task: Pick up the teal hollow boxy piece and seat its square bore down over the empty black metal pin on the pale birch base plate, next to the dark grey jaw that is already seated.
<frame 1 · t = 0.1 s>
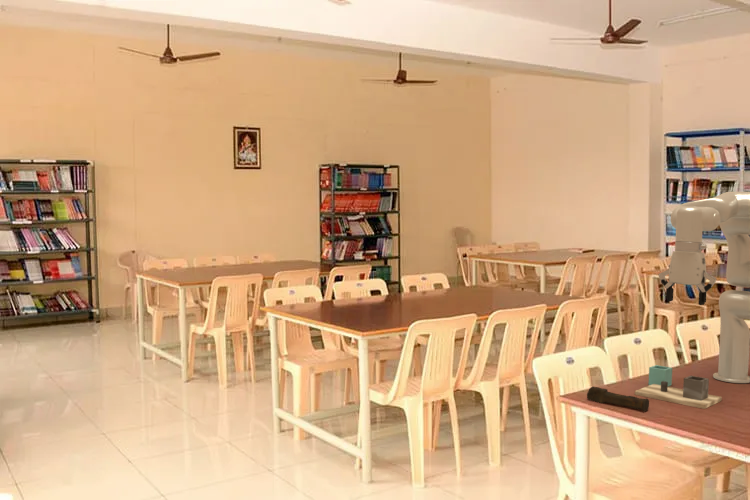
hand: (685, 302, 231), 31 cm above the table, fingers open, 9 cm apart
teal hollow boxy piece: (659, 384, 255), on the table
seat plate: (677, 397, 239), on the table
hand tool: (615, 406, 228), on the table
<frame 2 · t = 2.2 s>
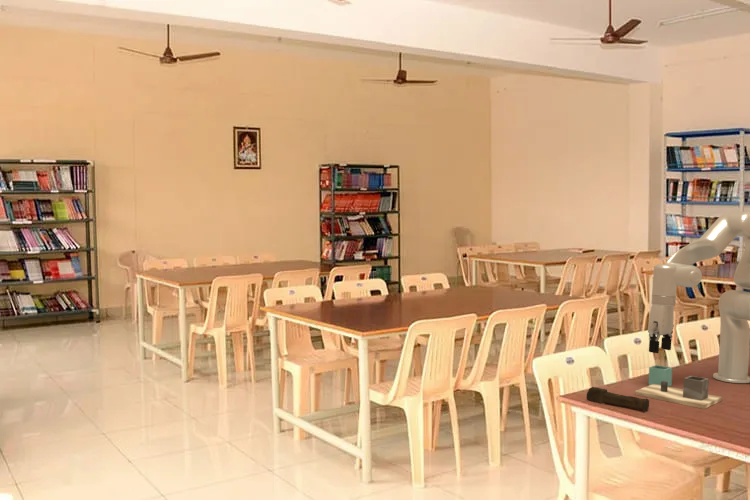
hand: (659, 351, 254), 12 cm above the table, fingers open, 9 cm apart
nothing on the table moved.
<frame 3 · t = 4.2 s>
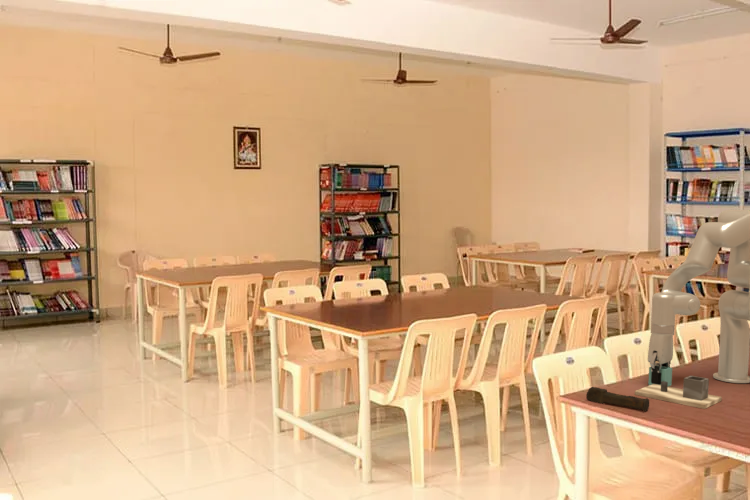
hand: (660, 381, 255), 1 cm above the table, fingers closed on teal hollow boxy piece, 5 cm apart
teal hollow boxy piece: (659, 384, 255), on the table, touching gripper
everything else where it was.
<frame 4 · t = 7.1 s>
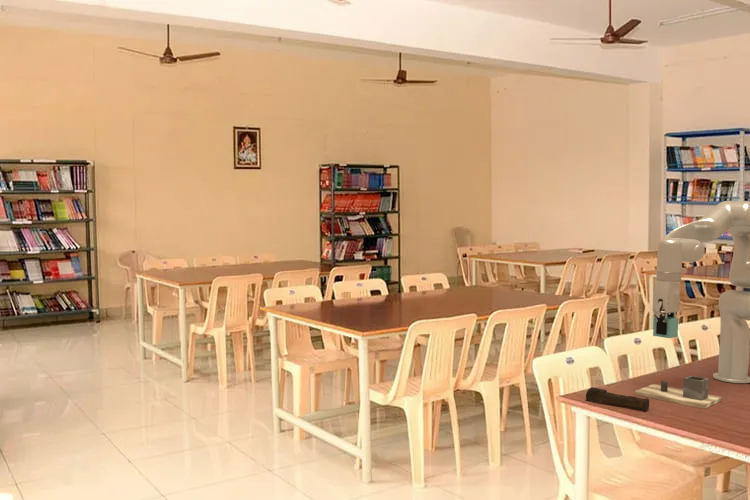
hand: (665, 332, 242), 20 cm above the table, fingers closed on teal hollow boxy piece, 5 cm apart
teal hollow boxy piece: (665, 336, 242), point 19 cm above the table, touching gripper
everything else where it was.
when the fingers open (3 cm above the table, at t = 10.1 s): teal hollow boxy piece stays where it is, resting on seat plate.
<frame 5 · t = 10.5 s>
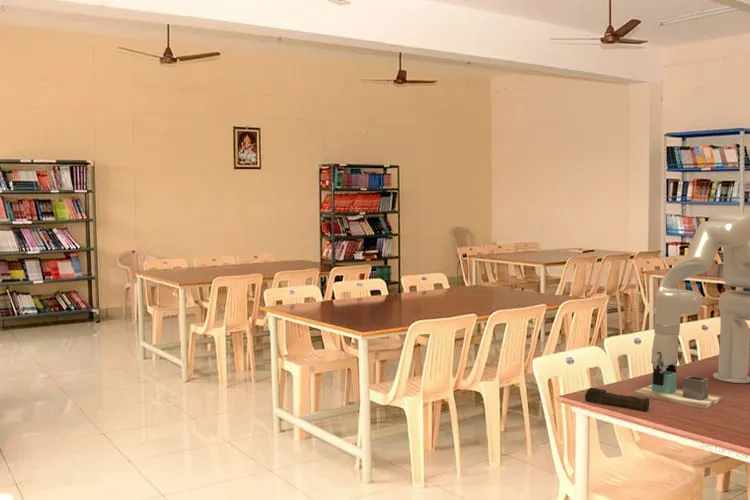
hand: (664, 382, 242), 4 cm above the table, fingers open, 9 cm apart
teal hollow boxy piece: (663, 391, 242), point 1 cm above the table, touching seat plate
everything else where it was.
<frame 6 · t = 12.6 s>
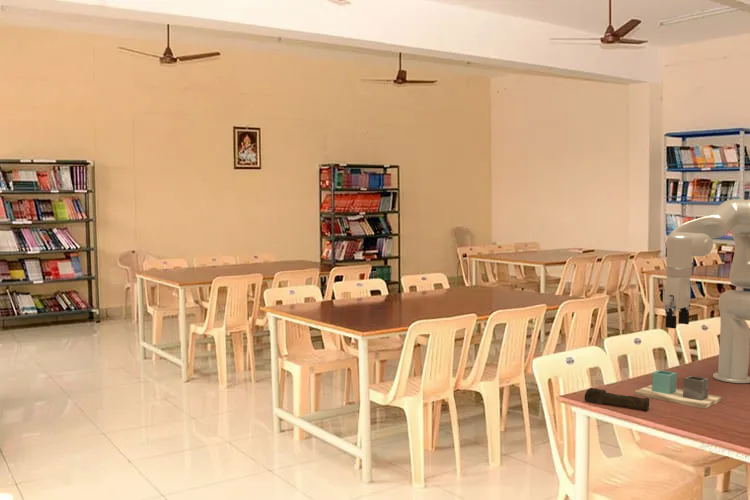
hand: (677, 325, 242), 22 cm above the table, fingers open, 9 cm apart
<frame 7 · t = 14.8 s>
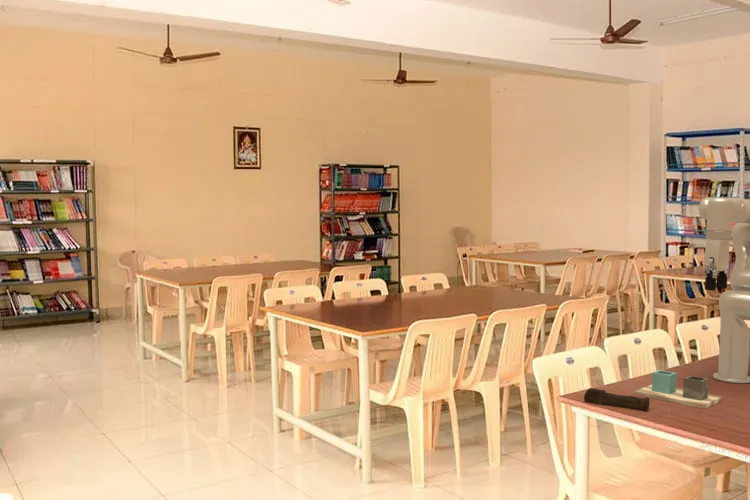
hand: (715, 289, 243), 34 cm above the table, fingers open, 9 cm apart
at the end: teal hollow boxy piece 0.1 cm from the target spot on the seat plate, point 1.2 cm above the seat plate's base; teal hollow boxy piece tilted 0°; the gripper is holding nothing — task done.
